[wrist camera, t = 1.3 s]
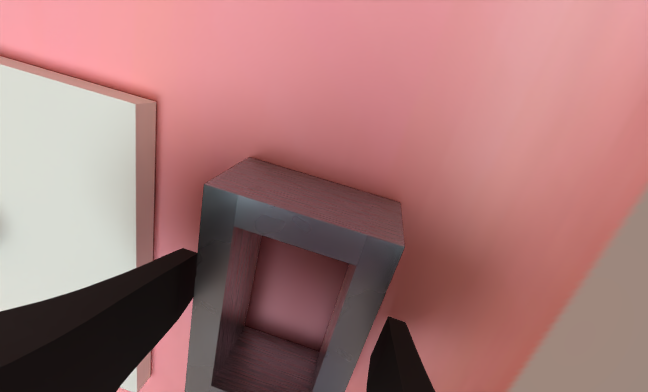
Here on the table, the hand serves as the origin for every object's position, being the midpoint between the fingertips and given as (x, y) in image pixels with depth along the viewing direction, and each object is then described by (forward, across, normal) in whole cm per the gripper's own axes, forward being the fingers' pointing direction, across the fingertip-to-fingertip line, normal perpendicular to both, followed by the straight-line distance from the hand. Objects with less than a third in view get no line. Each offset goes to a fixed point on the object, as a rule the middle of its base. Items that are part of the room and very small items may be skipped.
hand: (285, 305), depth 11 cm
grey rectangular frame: (+2, 0, 0) cm, 2 cm away
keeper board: (+2, +14, +2) cm, 14 cm away
